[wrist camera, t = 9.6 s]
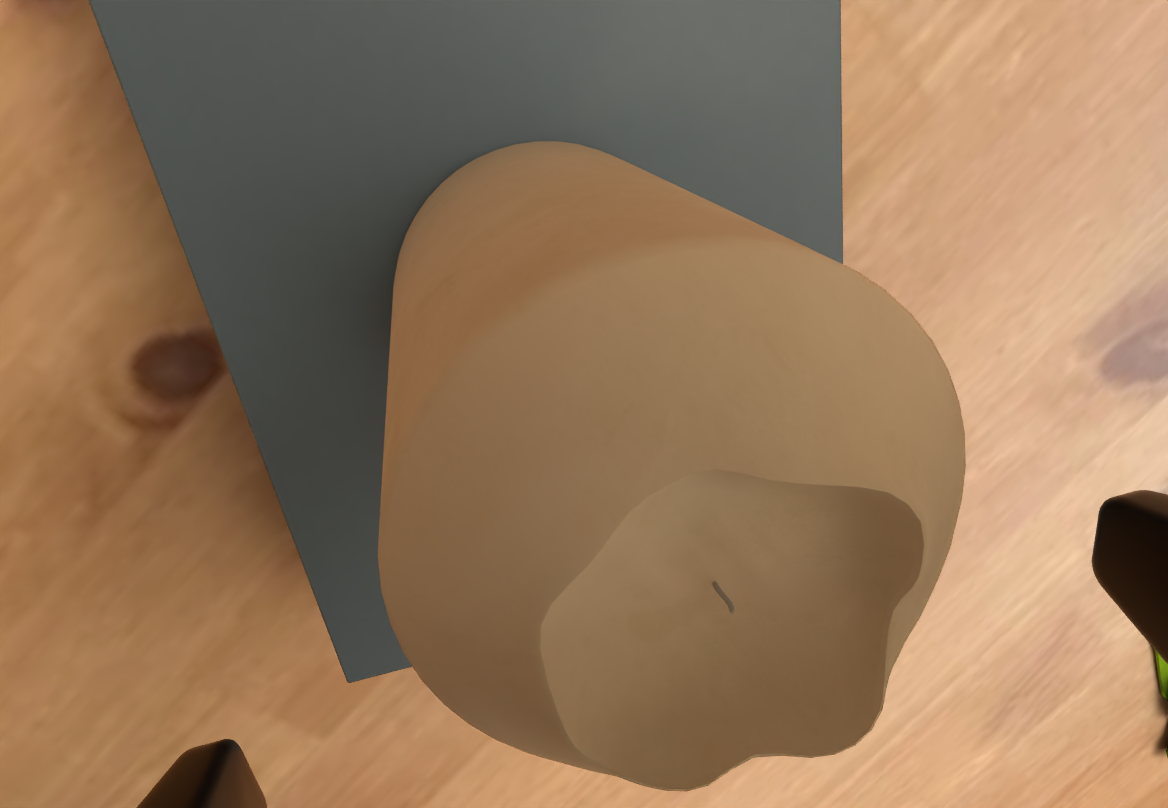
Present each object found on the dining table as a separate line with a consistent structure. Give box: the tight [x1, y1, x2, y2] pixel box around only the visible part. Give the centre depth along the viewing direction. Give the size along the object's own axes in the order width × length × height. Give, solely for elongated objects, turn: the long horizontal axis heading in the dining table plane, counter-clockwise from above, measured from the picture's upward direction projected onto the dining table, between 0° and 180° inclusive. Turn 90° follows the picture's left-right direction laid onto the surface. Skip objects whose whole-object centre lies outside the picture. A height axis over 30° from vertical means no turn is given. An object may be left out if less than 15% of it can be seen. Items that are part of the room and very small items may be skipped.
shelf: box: [89, 0, 843, 683], centre depth 17 cm, size 12×16×4 cm
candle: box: [378, 141, 966, 791], centre depth 10 cm, size 6×6×10 cm
